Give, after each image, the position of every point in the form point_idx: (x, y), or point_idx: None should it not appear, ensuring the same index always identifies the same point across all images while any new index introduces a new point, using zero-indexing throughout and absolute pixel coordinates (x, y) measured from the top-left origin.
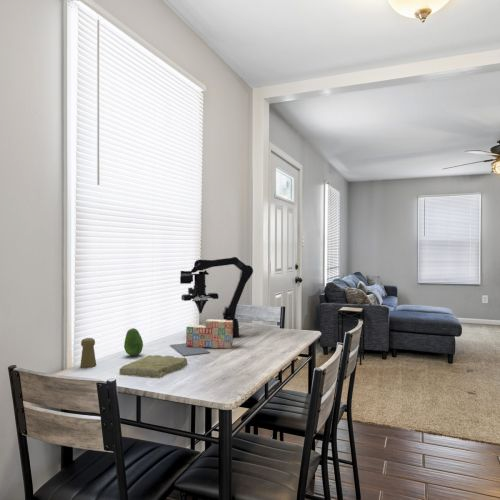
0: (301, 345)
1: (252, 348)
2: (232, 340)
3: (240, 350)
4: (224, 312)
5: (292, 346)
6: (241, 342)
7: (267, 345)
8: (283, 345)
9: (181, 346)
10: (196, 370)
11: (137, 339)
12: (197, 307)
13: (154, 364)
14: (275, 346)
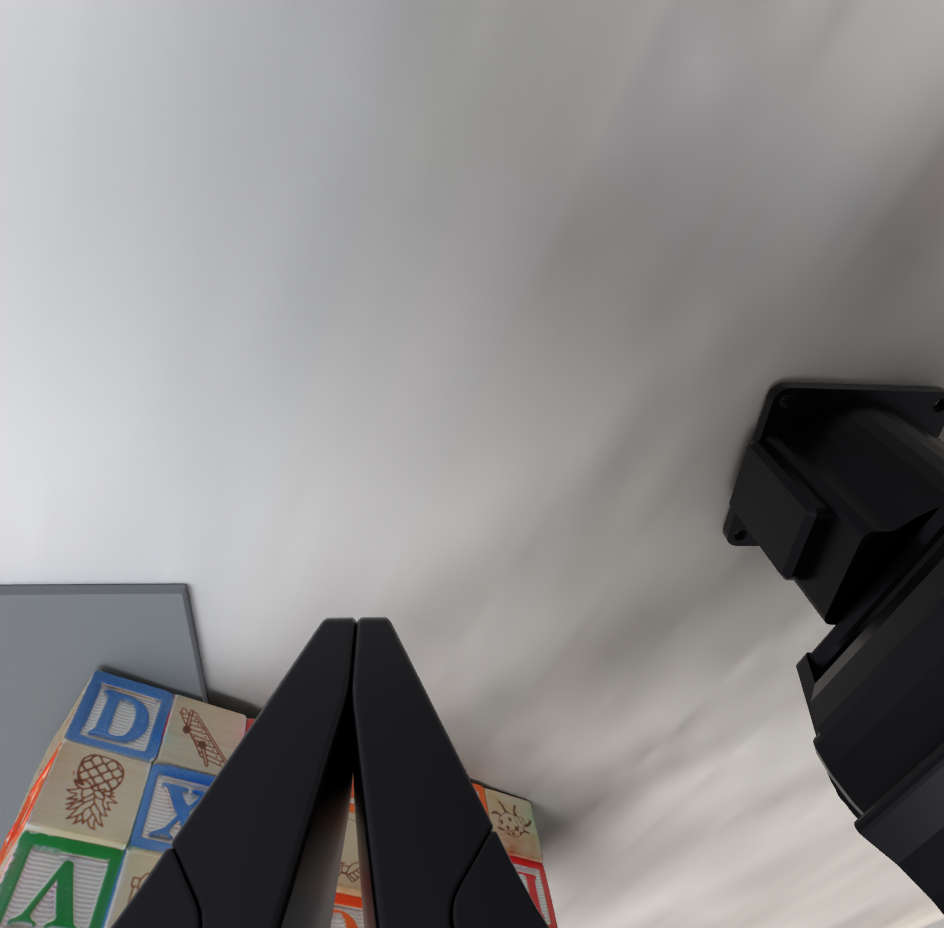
0: (932, 916)
1: (613, 892)
2: (540, 852)
3: None
4: (933, 875)
5: (867, 919)
6: (683, 735)
7: (768, 864)
8: (851, 890)
9: None
10: None
11: None
12: (191, 838)
13: None
14: (786, 894)
